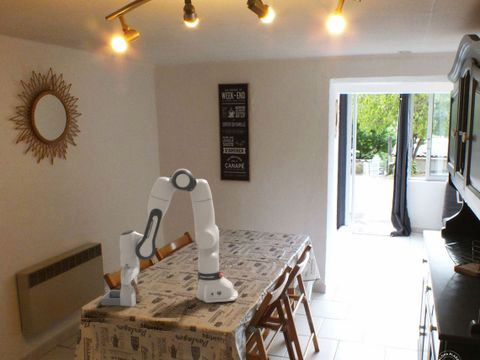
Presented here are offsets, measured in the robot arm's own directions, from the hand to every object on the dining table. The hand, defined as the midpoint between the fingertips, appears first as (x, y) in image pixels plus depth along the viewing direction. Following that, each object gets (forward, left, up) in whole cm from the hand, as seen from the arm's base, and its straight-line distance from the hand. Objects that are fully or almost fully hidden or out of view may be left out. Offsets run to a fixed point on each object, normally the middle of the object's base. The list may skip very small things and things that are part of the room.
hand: (131, 287), depth 220 cm
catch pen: (+9, 0, -7) cm, 11 cm away
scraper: (-3, -1, -7) cm, 7 cm away
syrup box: (+8, -25, -7) cm, 27 cm away
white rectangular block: (0, +5, -7) cm, 9 cm away
